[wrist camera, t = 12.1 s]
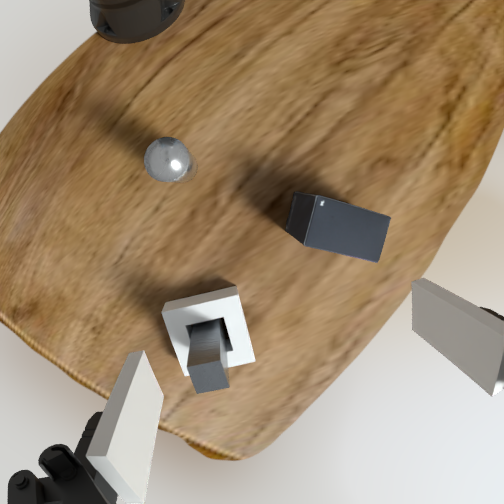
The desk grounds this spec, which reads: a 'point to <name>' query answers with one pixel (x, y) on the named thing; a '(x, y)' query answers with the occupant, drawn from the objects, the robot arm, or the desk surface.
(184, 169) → the round bit
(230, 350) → the socket block
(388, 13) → the desk surface
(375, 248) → the small box
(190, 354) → the square bit
